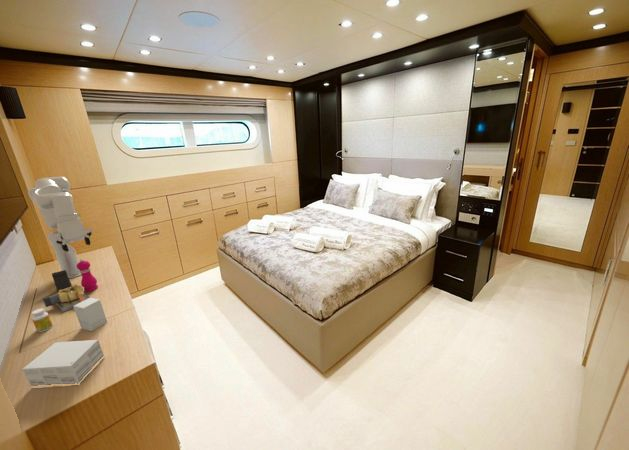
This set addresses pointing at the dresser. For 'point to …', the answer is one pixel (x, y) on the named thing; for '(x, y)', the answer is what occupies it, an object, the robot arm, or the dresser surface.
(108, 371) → the dresser surface
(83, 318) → the supplement box
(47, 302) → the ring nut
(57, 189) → the robot arm
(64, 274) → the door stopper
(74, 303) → the flange base
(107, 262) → the dresser surface
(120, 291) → the dresser surface
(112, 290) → the dresser surface
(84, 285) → the pepper mill
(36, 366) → the supplement box
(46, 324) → the supplement bottle
